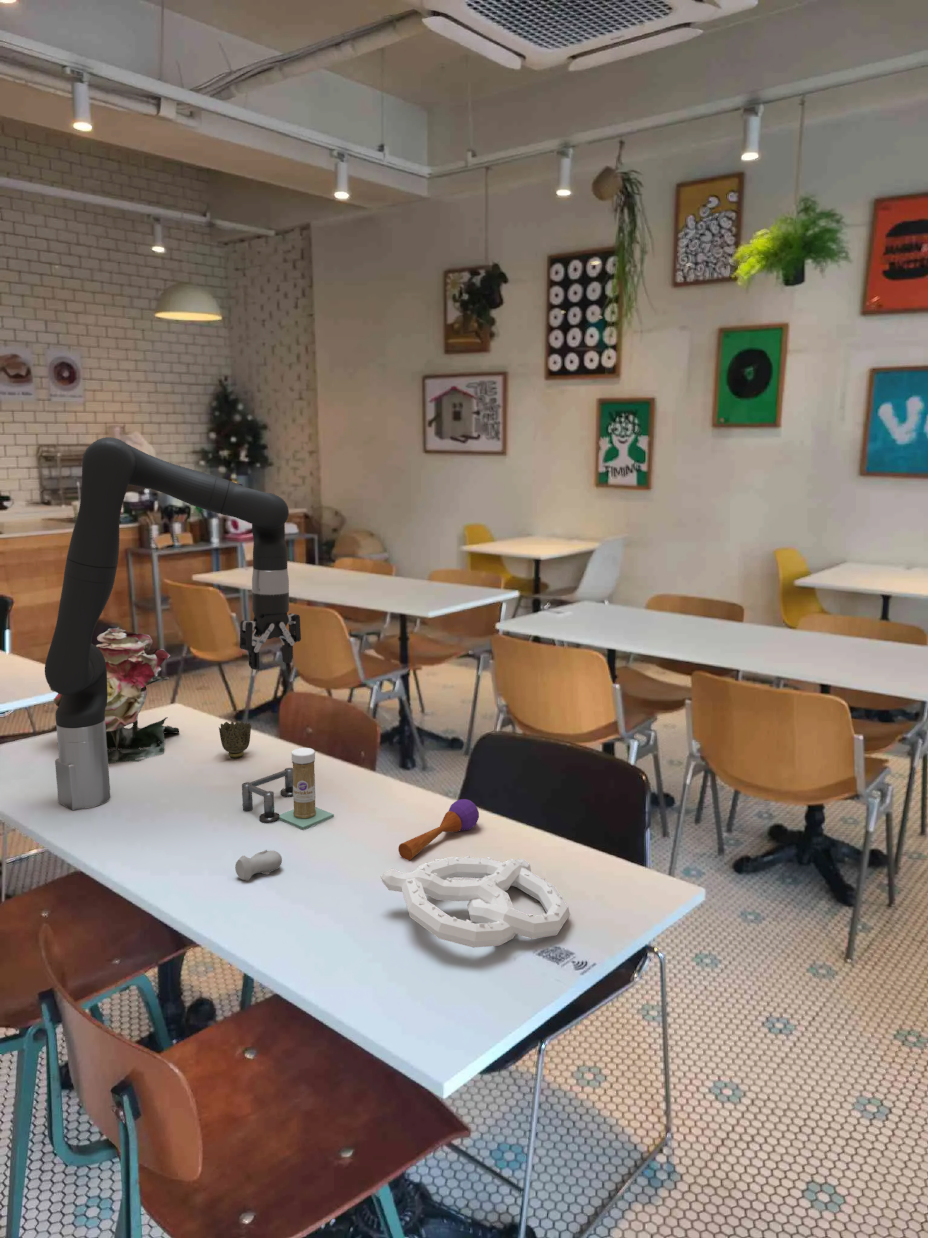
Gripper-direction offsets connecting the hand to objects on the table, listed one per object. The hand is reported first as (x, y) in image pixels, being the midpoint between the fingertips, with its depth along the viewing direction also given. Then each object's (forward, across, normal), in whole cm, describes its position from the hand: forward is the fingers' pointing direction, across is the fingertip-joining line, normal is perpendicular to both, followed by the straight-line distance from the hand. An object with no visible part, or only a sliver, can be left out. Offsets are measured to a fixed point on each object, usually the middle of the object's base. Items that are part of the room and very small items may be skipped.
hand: (271, 665), depth 186 cm
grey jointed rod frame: (+27, -6, -10) cm, 30 cm away
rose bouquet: (+28, -10, +48) cm, 56 cm away
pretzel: (+27, -12, -67) cm, 74 cm away
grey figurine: (+28, -26, -29) cm, 48 cm away
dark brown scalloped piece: (+28, +6, +21) cm, 35 cm away
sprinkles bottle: (+27, -6, -17) cm, 32 cm away
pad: (+27, -6, -18) cm, 33 cm away
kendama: (+27, +4, -45) cm, 53 cm away
